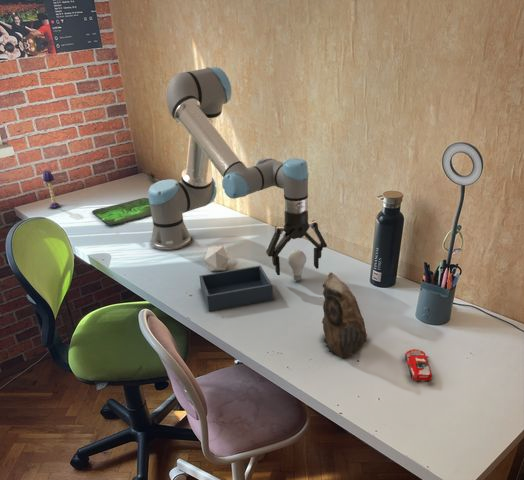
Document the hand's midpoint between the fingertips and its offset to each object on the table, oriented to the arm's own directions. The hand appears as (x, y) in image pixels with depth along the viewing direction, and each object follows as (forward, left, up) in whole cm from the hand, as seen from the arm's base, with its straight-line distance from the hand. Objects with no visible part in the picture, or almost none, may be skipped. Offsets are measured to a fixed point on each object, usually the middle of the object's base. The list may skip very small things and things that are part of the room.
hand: (297, 270), depth 191 cm
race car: (+58, +15, -4) cm, 60 cm away
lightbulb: (0, 0, -4) cm, 4 cm away
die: (-18, -24, -4) cm, 30 cm away
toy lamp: (-106, -83, -4) cm, 135 cm away
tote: (+3, -22, -4) cm, 22 cm away
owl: (+41, +1, -4) cm, 41 cm away
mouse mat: (-86, -51, -4) cm, 100 cm away
